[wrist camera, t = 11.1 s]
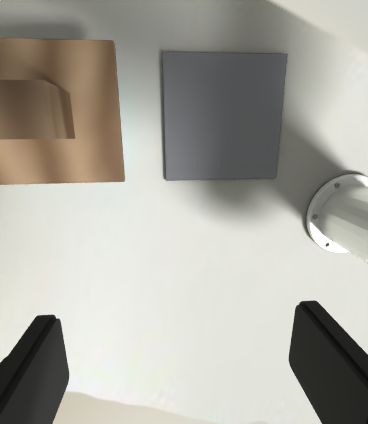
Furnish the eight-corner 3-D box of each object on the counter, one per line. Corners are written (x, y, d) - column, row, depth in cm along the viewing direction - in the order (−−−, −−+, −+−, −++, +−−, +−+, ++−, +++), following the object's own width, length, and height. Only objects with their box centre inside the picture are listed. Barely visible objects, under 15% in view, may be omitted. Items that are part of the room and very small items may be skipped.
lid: (114, 44, 26) (98, 11, 19) (125, 180, 30) (114, 192, 23) (-32, 41, 25) (-103, 4, 18) (-1, 183, 29) (-50, 197, 22)
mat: (285, 55, 33) (287, 53, 33) (274, 177, 38) (275, 178, 37) (162, 53, 32) (162, 51, 31) (166, 180, 36) (166, 180, 36)
